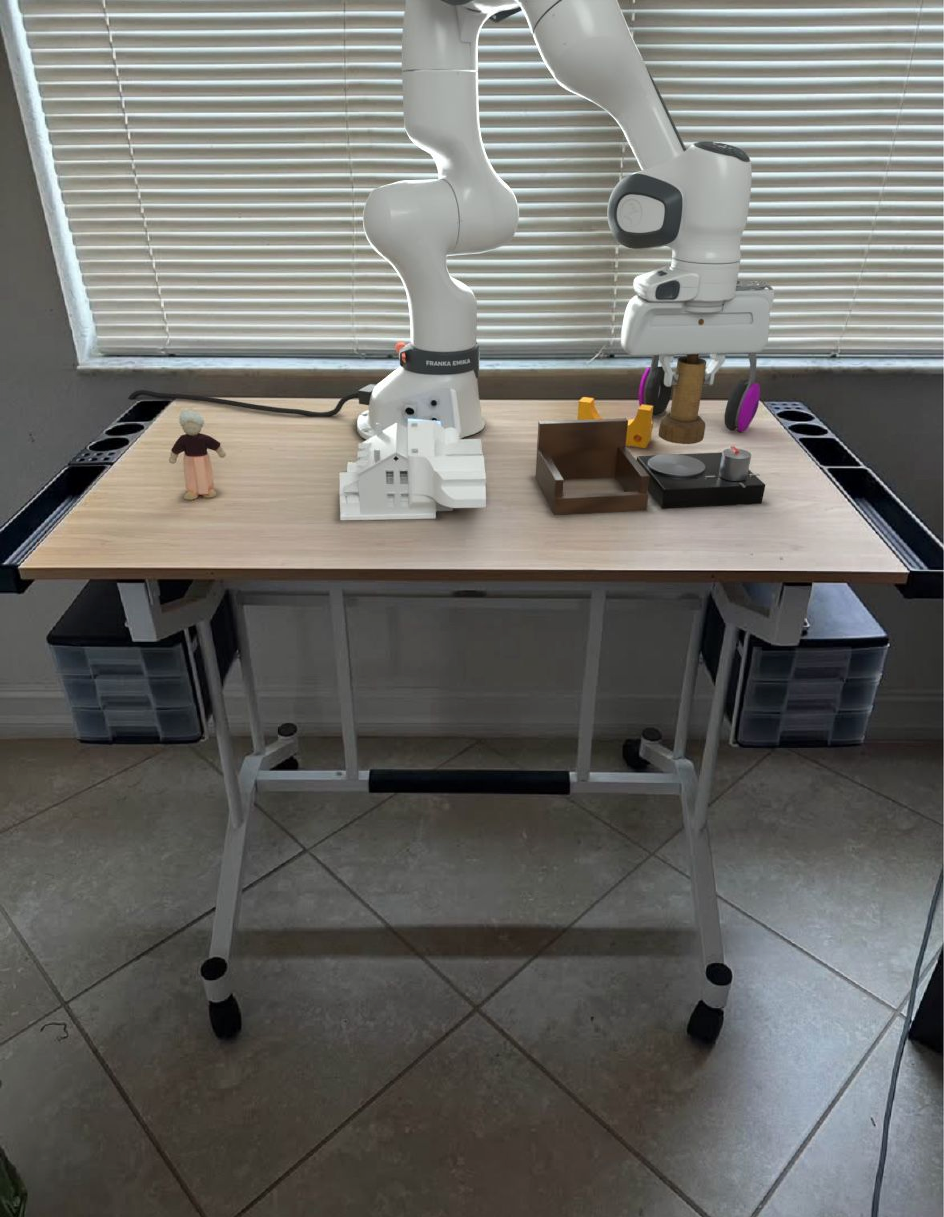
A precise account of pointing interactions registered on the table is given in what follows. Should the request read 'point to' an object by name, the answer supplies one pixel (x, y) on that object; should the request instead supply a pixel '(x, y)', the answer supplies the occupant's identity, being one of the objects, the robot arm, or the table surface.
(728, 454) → the hob knob
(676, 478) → the hob
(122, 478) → the table surface
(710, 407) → the table surface
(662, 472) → the burner
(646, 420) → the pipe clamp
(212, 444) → the grandmother figurine
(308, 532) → the table surface
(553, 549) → the table surface
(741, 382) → the headphones
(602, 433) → the spice rack
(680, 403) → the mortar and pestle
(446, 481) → the house model
